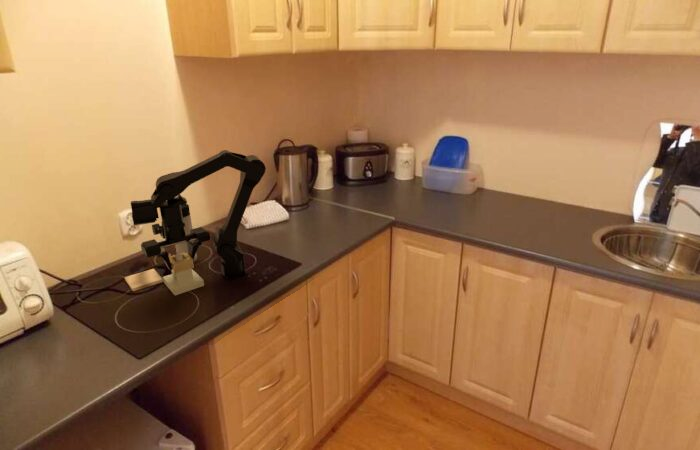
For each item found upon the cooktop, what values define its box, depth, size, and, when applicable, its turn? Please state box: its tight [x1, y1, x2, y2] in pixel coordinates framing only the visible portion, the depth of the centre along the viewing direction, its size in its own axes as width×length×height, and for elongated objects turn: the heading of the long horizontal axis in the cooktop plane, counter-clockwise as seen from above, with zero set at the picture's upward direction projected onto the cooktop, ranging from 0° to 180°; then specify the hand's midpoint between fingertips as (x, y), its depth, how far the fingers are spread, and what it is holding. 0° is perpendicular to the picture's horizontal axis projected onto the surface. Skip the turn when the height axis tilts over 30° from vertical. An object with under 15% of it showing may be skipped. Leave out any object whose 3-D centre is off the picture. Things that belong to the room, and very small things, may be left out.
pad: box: [123, 268, 164, 292], centre depth 145 cm, size 9×9×1 cm
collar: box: [169, 252, 195, 274], centre depth 140 cm, size 6×6×3 cm
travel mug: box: [174, 203, 198, 263], centre depth 154 cm, size 6×7×20 cm
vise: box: [162, 253, 205, 296], centre depth 141 cm, size 9×10×10 cm
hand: (180, 266), depth 141 cm, fingers closed on collar, 6 cm apart
